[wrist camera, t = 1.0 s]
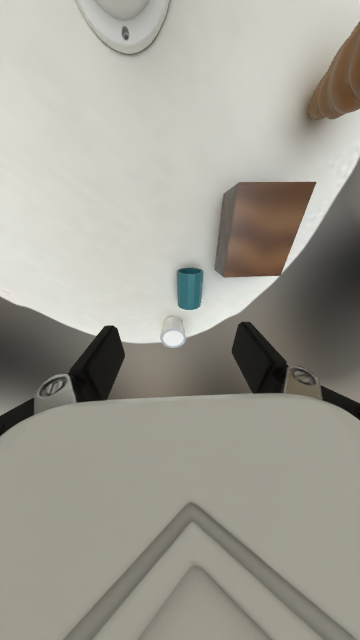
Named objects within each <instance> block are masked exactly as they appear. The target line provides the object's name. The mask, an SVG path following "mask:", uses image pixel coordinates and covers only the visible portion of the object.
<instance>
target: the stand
mask: <svg viewBox="0 0 360 640" xmlns="http://www.w3.org/2000/svg"><path fill="white" fill-rule="evenodd" d="M315 184H316V182H239V183H238V184H236V185H235V186H234V187H232V188H231V189H230V190H228V191H227V192H226V193H224V197H223V205H222V213H221V222H220V230H219V238H218V247H217V255H216V263H215V270H216V271H217V272H218V273H219V274H221V275H222V276H223V277H250V276H280V275H281V273H282V270H283V267H284V265H285V262H286V260H287V257H288V254H289V252H290V249H291V247H292V244H293V241H294V239H295V236H296V234H297V231H298V228H299V226H300V223H301V221H302V218H303V215H304V213H305V210H306V208H307V205H308V202H309V200H310V197H311V195H312V192H313V189H314V187H315Z"/></svg>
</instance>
